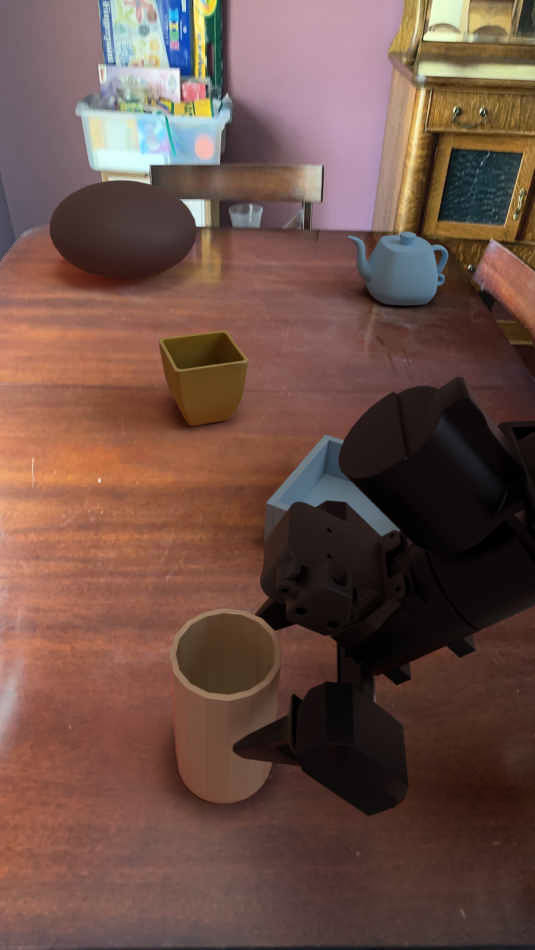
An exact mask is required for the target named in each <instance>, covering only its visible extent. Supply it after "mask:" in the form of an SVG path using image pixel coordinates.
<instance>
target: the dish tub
mask: <svg viewBox="0 0 535 950" xmlns="http://www.w3.org/2000/svg"><path fill="white" fill-rule="evenodd" d="M343 442H344V439H341V438H338V437H335V436H331V435H329V434H324V435H323V436H322V438H321V439H320V440H319V441H318V442H317V443H316V445H315V446H314V447H313V448H311V450H310V451H309V452H308V454H307V455H306V456H305V457H304V458H303V460H302V461H301V462H300V463H299V464H298V465H297V466H296V468H295V469H294V470H293V471H292V472H291V473H290V475H289V476H288V477H287V478H286V479H285V480H284V481H283V482H282V484H280V486H279V487H278V488H277V489H276V491H275V492H274V493H273V494H272V495H271V497H270V498H269V499H268V500H267V501H266V502H265V518H264V534H263V535H264V536H263V543H264V542H265V540H266V539H267V537H268V536H269V535H270V533H271V532H272V530H273V529H274V528H275V526H276V525H277V524H278V522H279V521H280V520H281V518H282V517H283V516H284V514H285V513H286V512H287V510H288V509H289V507H290V506H291V505H292V504H293V503H294V502H304V503H307V504H309V505H312V506H314V507H316V506H318V505H320V504H321V503H323V502H324V501H326V500H330V501H342V502H347V503H348V504H349V505H350V506H351V507H352V508H353V509H354V510H355V511H356V512H357V513H358V514H359V515H360V516H361V517H362V518H363V519H364V520H365V521H366V522H367V523H368V524H369V525H370V526H371V527H372V528H373V529H374V530H375V531H376V532H377V533H378V534H379V535H381V536H383V535H385V534H387V533H389V532H391V531H392V530H397V531H398V532H399V531H400V530H399V529H398V528H397V527H396V526H395V525H394V524H393V523H392V522H391V521H390V520H389V519H388V518H387V517H386V516H385V515H384V514H383V513H382V512H381V511H380V510H379V509H378V508H377V507H376V506H375V505H374V504H373V503H372V502H371V501H370V500H369V499H368V498H367V497H366V496H365V495H364V494H363V493H362V492H361V491H360V490H359V489H358V488H357V487H356V486H355V485H354V484H353V483H352V482H351V481H350V480H349V479H348V478H347V477H346V476H345V475H344V474H343V473H342V472H341V470H340V467H339V464H338V457H339V453H340V448H341V446H342V444H343Z"/></svg>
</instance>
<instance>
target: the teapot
mask: <svg viewBox="0 0 535 950" xmlns="http://www.w3.org/2000/svg"><path fill="white" fill-rule="evenodd" d="M347 237H348V239H350V241H352V242H353V243H354V247H355V249H356V250H355V251H356V259H355V260H356V262H355V263H356V271H357V273H358V275H359V276H360V277H361V279H363V280H364V285H365V287H366V289H367V291H368V293H369V294H370V295H371V297H372V298H373V299H375V300H376V301H378V302H379V303H382V304H384V305H389V306H422V305H426V304H428V303H429V302H430V301H432V299H433V298H434V296H435V295H436V293H437V289H438V287H440V286H442V285H443V284H444V283H445V279H446V278H445V275H444V274H443V273H442V271H443V269H444V268H445V266H446V264H447V262H448V259H449V252H448V250H447V249H446V248H445V247H444V246H443V245H441V244H432V245H431V243H430V242H429V241H427V240H426V239H424V238H422V237H420V236H417V234H416V233H414V232H411V231H402V232H400V233H399V234H398V235H397V234H394V235H393V234H392V235H391V234H390V235H383V236H382V237H380V239H379V240H378V241H377V243H376V245H375V247H374V248H373V251H372V252H371V254H370V256H369V258H368V261H367V257H366V246H365V243H364V240H362V239H361V238H360V237H356V236H352V235H347ZM435 251H439V252H441V254H442V256H441V258H440V260H439V263H438V264H437V260H436V255H435ZM438 278H439V279H438Z"/></svg>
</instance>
